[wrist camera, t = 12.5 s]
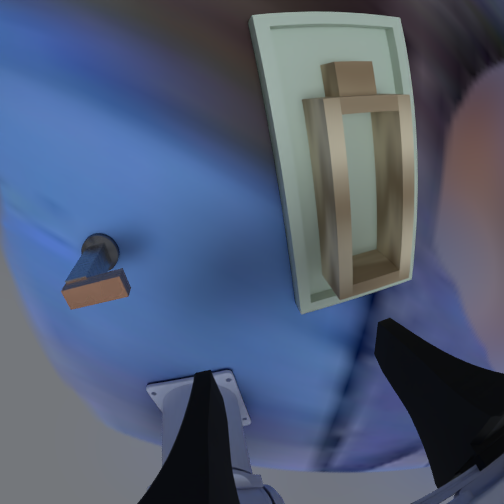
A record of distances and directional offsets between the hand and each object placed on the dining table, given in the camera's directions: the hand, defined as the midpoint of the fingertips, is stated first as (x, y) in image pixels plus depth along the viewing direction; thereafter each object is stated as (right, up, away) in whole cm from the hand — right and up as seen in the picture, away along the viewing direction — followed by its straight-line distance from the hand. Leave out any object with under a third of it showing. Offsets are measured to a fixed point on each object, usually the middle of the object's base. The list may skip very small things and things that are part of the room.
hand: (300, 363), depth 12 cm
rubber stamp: (-12, +5, +7) cm, 14 cm away
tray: (+4, +10, +7) cm, 13 cm away
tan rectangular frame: (+4, +10, +7) cm, 12 cm away
